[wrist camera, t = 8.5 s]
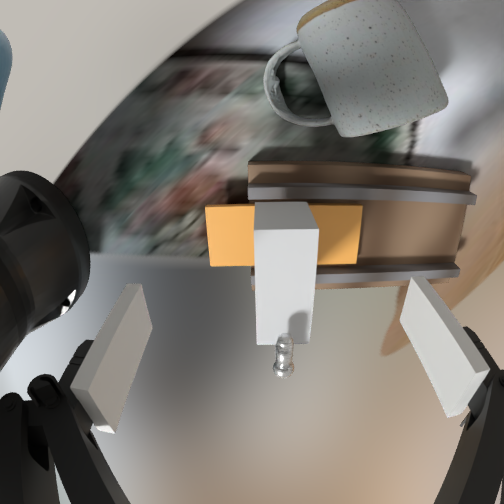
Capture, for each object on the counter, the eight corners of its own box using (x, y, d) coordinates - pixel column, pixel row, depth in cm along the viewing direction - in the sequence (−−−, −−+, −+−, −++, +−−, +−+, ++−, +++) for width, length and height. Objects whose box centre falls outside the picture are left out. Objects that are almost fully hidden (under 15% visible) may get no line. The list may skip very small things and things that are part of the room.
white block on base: (212, 276, 25) (196, 343, 18) (204, 188, 21) (178, 231, 15) (352, 274, 24) (382, 338, 17) (362, 187, 21) (406, 229, 14)
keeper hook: (262, 291, 25) (262, 384, 17) (261, 255, 24) (261, 343, 15) (291, 291, 25) (304, 382, 17) (293, 254, 24) (309, 341, 15)
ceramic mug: (370, 6, 16) (412, -26, 9) (416, 101, 19) (473, 107, 13) (242, 54, 19) (230, 30, 12) (294, 151, 22) (308, 175, 15)
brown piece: (252, 280, 27) (251, 299, 24) (248, 161, 22) (247, 168, 20) (441, 274, 26) (454, 289, 24) (461, 171, 22) (479, 179, 19)
